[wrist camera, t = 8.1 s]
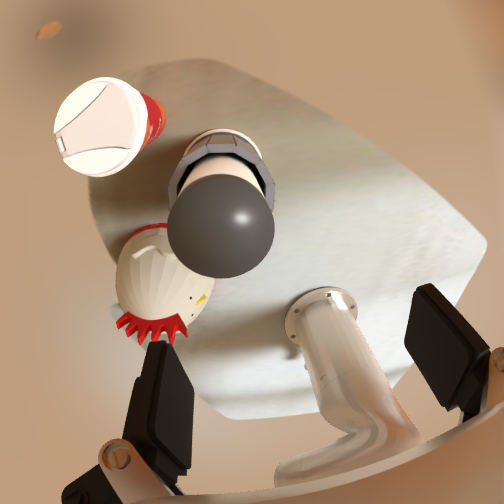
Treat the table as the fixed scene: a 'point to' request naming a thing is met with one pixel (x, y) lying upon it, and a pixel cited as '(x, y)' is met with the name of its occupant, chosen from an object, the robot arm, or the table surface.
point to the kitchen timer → (157, 287)
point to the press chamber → (219, 144)
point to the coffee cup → (106, 126)
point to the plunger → (220, 218)
